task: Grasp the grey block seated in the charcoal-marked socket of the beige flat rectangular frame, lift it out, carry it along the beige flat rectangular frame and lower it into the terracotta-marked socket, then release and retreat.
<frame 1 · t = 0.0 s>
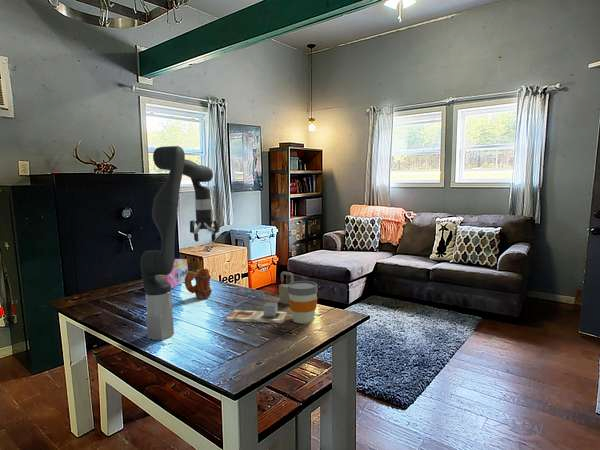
hand: (205, 241, 187), 29 cm above the table, fingers open, 8 cm apart
grey block: (270, 318, 161), resting on beige flat rectangular frame
mug: (199, 299, 191), on the table
reusable coffee cup: (303, 320, 159), on the table
beige flat rectangular frame: (257, 317, 162), on the table
padlock: (287, 303, 181), on the table
gum box: (173, 285, 217), on the table
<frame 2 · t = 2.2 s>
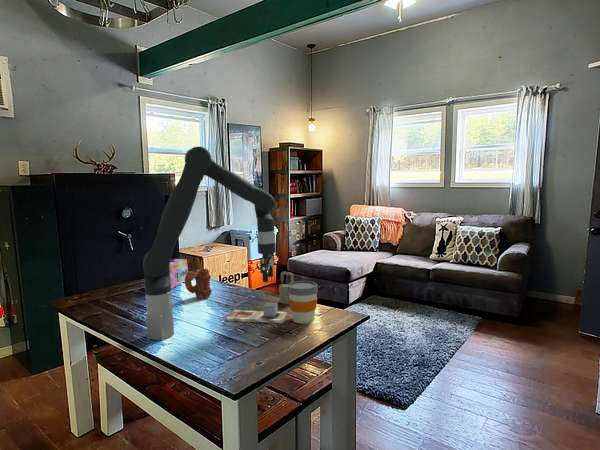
hand: (268, 279, 161), 17 cm above the table, fingers open, 8 cm apart
nothing on the table moved.
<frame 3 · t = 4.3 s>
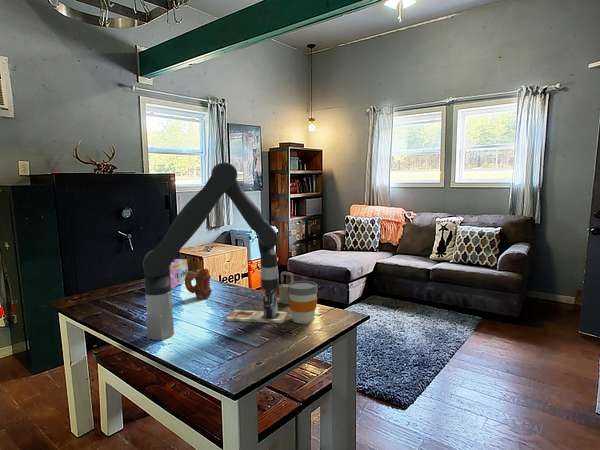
hand: (270, 315, 161), 1 cm above the table, fingers closed on grey block, 5 cm apart
grey block: (270, 318, 161), resting on beige flat rectangular frame, touching gripper
everything else where it was.
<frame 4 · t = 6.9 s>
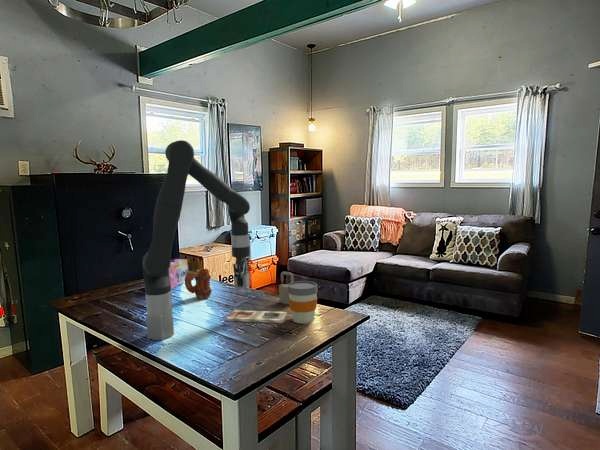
hand: (242, 284, 162), 15 cm above the table, fingers closed on grey block, 5 cm apart
grey block: (242, 286, 162), point 14 cm above the table, touching gripper
everything else where it was.
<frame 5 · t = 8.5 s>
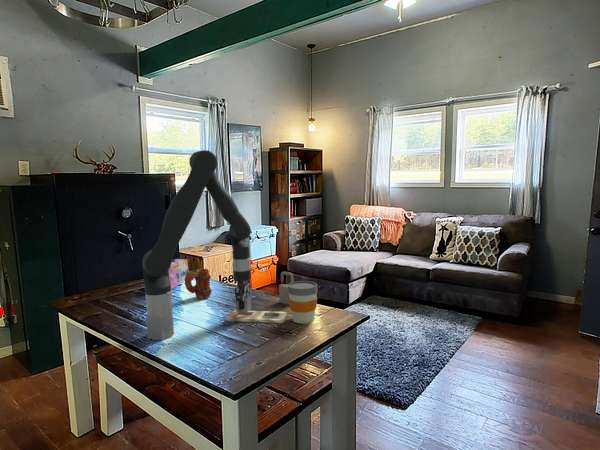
hand: (243, 307, 163), 5 cm above the table, fingers closed on grey block, 5 cm apart
grey block: (243, 309, 163), point 3 cm above the table, touching gripper
everything else where it was.
when the fingers open (3 cm above the table, at t = 9.8 s): grey block drops 2 cm, resting on beige flat rectangular frame.
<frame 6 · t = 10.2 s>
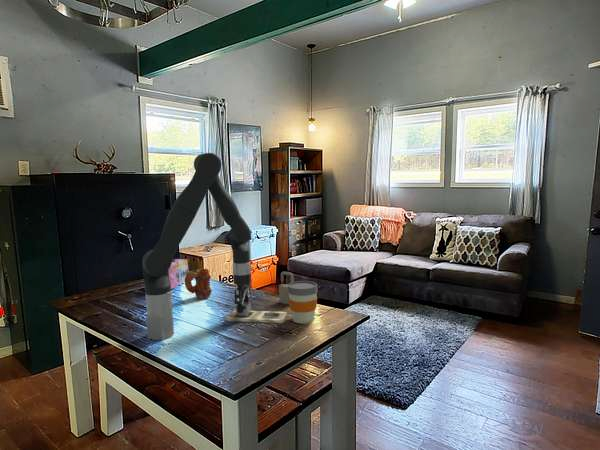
hand: (243, 309, 163), 4 cm above the table, fingers open, 8 cm apart
grey block: (243, 317, 163), resting on beige flat rectangular frame
everything else where it was.
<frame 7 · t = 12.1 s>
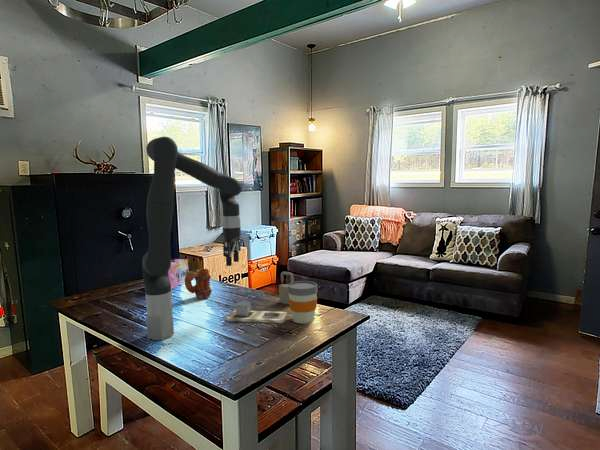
hand: (232, 263, 163), 23 cm above the table, fingers open, 8 cm apart
nothing on the table moved.
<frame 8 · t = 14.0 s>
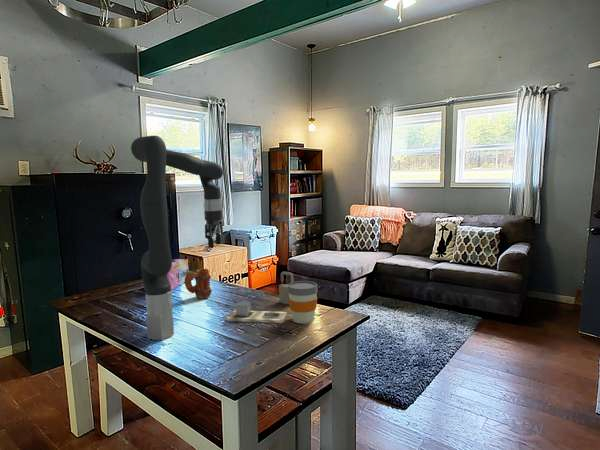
hand: (215, 245, 168), 30 cm above the table, fingers open, 8 cm apart
nothing on the table moved.
at the end: grey block 0.1 cm from the target spot on the beige flat rectangular frame, point 0.1 cm above the beige flat rectangular frame's base; grey block tilted 0°; the gripper is holding nothing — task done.
